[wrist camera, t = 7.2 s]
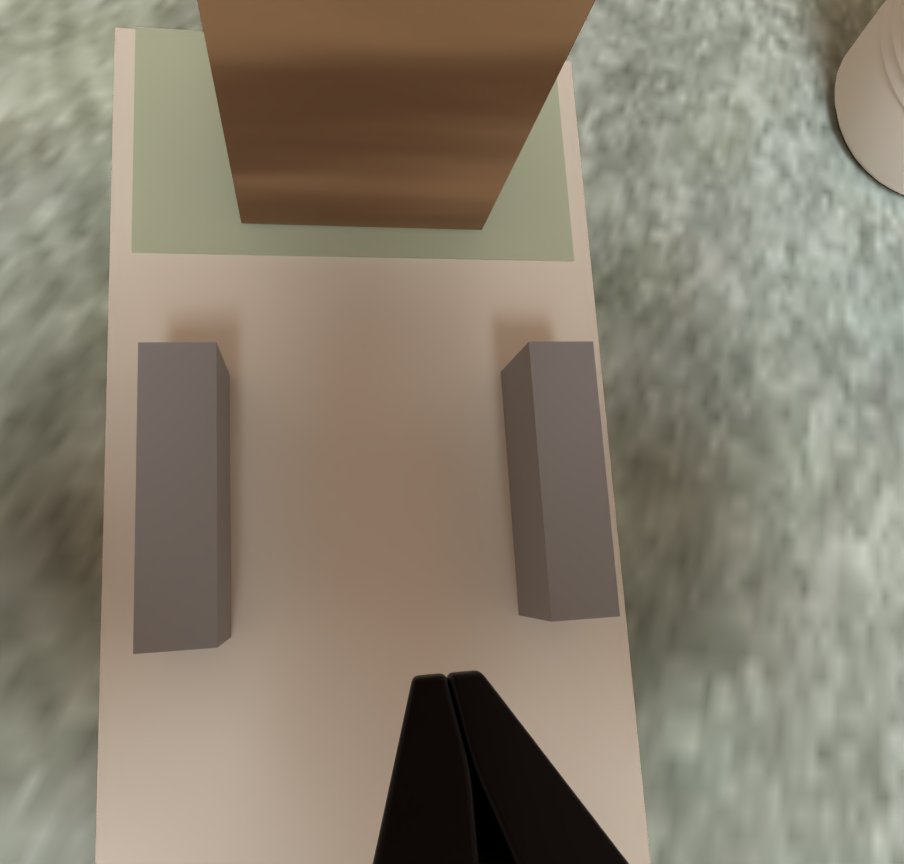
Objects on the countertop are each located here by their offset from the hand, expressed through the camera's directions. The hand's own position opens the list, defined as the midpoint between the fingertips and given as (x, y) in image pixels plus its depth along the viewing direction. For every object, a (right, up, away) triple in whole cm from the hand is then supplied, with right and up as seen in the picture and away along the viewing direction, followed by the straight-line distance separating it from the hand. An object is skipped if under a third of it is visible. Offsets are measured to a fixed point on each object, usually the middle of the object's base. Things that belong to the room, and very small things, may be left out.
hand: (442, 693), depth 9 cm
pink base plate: (-2, +1, +9) cm, 10 cm away
